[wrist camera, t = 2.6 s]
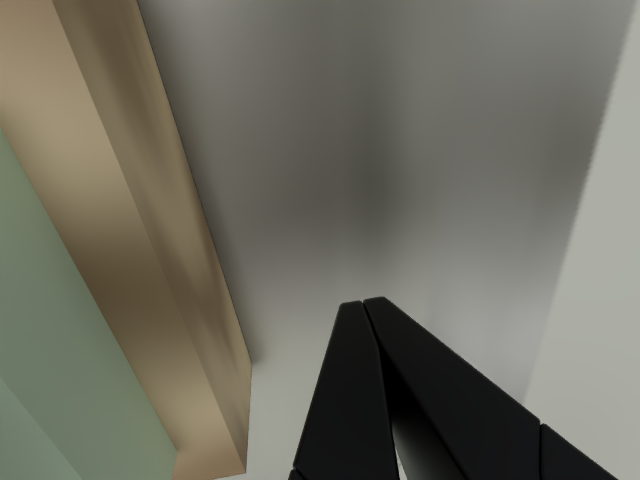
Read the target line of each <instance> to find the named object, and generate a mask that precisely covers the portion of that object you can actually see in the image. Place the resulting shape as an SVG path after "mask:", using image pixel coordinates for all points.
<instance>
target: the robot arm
mask: <svg viewBox="0 0 640 480" xmlns="http://www.w3.org/2000/svg"><path fill="white" fill-rule="evenodd" d="M395 447H396V450H397V452H398V455H399V458H400V461H401V463H402V466H403V469H404V471H405V474H406V476H407V480H618V479H617V478H615V477H614V476H613V475H611V474H610V473H609V472H607V471H606V470H604V469H603V468H602V467H601V466H599V465H598V464H597V463H596V462H594V461H593V460H591V459H590V458H589V457H588V456H586V455H585V454H584V453H582V452H581V451H580V450H578V449H577V448H576V447H574V446H573V445H572V444H570V443H569V442H568V441H567V440H565V439H564V438H563V437H562V436H560V435H559V434H558V433H557V432H555V431H554V430H552V429H551V428H550V427H549V426H548V425H546V424H544V423H543V424H541V425H540V420H539V418H537V417H536V416H535V415H533V414H532V413H531V412H530V411H528V410H527V409H526V408H525V407H523V406H522V405H521V404H520V403H518V402H517V401H516V400H515V399H513V398H512V397H511V396H509V395H508V394H507V393H506V392H504V391H503V390H502V389H501V388H499V387H498V386H497V385H496V384H494V383H493V382H492V381H490V380H489V379H488V378H487V377H485V376H484V375H483V374H482V373H480V372H479V371H478V370H477V369H475V368H474V367H473V366H472V365H470V364H469V363H468V362H466V361H465V360H464V359H463V358H461V357H460V356H459V355H458V354H456V353H455V352H454V351H453V350H451V349H450V348H449V347H448V346H446V345H445V344H444V343H442V342H441V341H440V340H439V339H437V338H436V337H435V336H434V335H432V334H431V333H430V332H429V331H427V330H426V329H425V328H424V327H422V326H421V325H420V324H418V323H417V322H416V321H415V320H413V319H412V318H411V317H410V316H408V315H407V314H406V313H405V312H403V311H402V310H401V309H400V308H398V307H397V306H396V305H394V304H393V303H392V302H391V301H389V300H388V299H387V298H385V297H375V298H369V299H365V300H364V301H363V303H362V302H361V301H359V300H358V301H352V302H346V303H342V304H341V305H340V306H339V310H338V313H337V316H336V320H335V323H334V326H333V330H332V333H331V337H330V340H329V343H328V347H327V350H326V354H325V357H324V360H323V364H322V367H321V371H320V374H319V377H318V381H317V384H316V387H315V391H314V394H313V398H312V401H311V404H310V408H309V411H308V415H307V418H306V421H305V425H304V428H303V432H302V435H301V438H300V442H299V445H298V448H297V452H296V455H295V459H294V462H293V470H291V472H290V475H289V478H288V480H400V478H399V470H398V464H397V457H396V451H395Z"/></svg>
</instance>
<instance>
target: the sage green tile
mask: <svg viewBox="0 0 640 480" xmlns="http://www.w3.org/2000/svg"><path fill="white" fill-rule="evenodd" d="M177 453H178V452H177V450H176V449H175V447H174V445H173V443H172V441H171V439H170V438H169V436H168V434H167V432H166V430H165V428H164V427H163V425H162V423H161V421H160V419H159V417H158V416H157V414H156V412H155V410H154V408H153V406H152V405H151V403H150V401H149V399H148V397H147V395H146V393H145V392H144V390H143V388H142V386H141V384H140V382H139V381H138V379H137V377H136V375H135V373H134V371H133V370H132V368H131V366H130V364H129V362H128V360H127V359H126V357H125V355H124V353H123V351H122V349H121V348H120V346H119V344H118V342H117V340H116V338H115V337H114V335H113V333H112V331H111V329H110V327H109V326H108V324H107V322H106V320H105V318H104V316H103V315H102V313H101V311H100V309H99V307H98V305H97V304H96V302H95V300H94V298H93V296H92V294H91V293H90V291H89V289H88V287H87V285H86V283H85V282H84V280H83V278H82V276H81V274H80V272H79V271H78V269H77V267H76V265H75V263H74V261H73V260H72V258H71V256H70V254H69V252H68V250H67V249H66V247H65V245H64V243H63V241H62V239H61V238H60V236H59V234H58V232H57V230H56V228H55V227H54V225H53V223H52V221H51V219H50V217H49V216H48V214H47V212H46V210H45V208H44V206H43V204H42V203H41V201H40V199H39V197H38V195H37V193H36V192H35V190H34V188H33V186H32V184H31V182H30V181H29V179H28V177H27V175H26V173H25V171H24V170H23V168H22V166H21V164H20V162H19V160H18V159H17V157H16V155H15V153H14V151H13V149H12V148H11V146H10V144H9V142H8V140H7V138H6V137H5V135H4V133H3V131H2V129H1V127H0V480H172V476H173V471H174V466H175V462H176V457H177Z"/></svg>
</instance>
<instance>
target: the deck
mask: <svg viewBox="0 0 640 480" xmlns="http://www.w3.org/2000/svg"><path fill="white" fill-rule="evenodd" d="M0 127H1V129H2V131H3V133H4V135H5V137H6V138H7V140H8V142H9V144H10V146H11V148H12V149H13V151H14V153H15V155H16V157H17V159H18V160H19V162H20V164H21V166H22V168H23V170H24V171H25V173H26V175H27V177H28V179H29V181H30V182H31V184H32V186H33V188H34V190H35V192H36V193H37V195H38V197H39V199H40V201H41V203H42V204H43V206H44V208H45V210H46V212H47V214H48V216H49V217H50V219H51V221H52V223H53V225H54V227H55V228H56V230H57V232H58V234H59V236H60V238H61V239H62V241H63V243H64V245H65V247H66V249H67V250H68V252H69V254H70V256H71V258H72V260H73V261H74V263H75V265H76V267H77V269H78V271H79V272H80V274H81V276H82V278H83V280H84V282H85V283H86V285H87V287H88V289H89V291H90V293H91V294H92V296H93V298H94V300H95V302H96V304H97V305H98V307H99V309H100V311H101V313H102V315H103V316H104V318H105V320H106V322H107V324H108V326H109V327H110V329H111V331H112V333H113V335H114V337H115V338H116V340H117V342H118V344H119V346H120V348H121V349H122V351H123V353H124V355H125V357H126V359H127V360H128V362H129V364H130V366H131V368H132V370H133V371H134V373H135V375H136V377H137V379H138V381H139V382H140V384H141V386H142V388H143V390H144V392H145V393H146V395H147V397H148V399H149V401H150V403H151V405H152V406H153V408H154V410H155V412H156V414H157V416H158V417H159V419H160V421H161V423H162V425H163V427H164V428H165V430H166V432H167V434H168V436H169V438H170V439H171V441H172V443H173V445H174V447H175V449H176V450H177V452H178V453H177V457H176V462H175V466H174V471H173V476H172V480H212V479H217V478H223V477H228V476H233V475H239V474H244V473H246V465H247V448H248V430H249V413H250V396H251V378H252V363H251V360H250V357H249V354H248V351H247V348H246V344H245V341H244V338H243V335H242V332H241V329H240V326H239V322H238V319H237V316H236V313H235V310H234V307H233V303H232V300H231V297H230V294H229V291H228V288H227V285H226V281H225V278H224V275H223V272H222V269H221V266H220V262H219V259H218V256H217V253H216V250H215V247H214V244H213V240H212V237H211V234H210V231H209V228H208V225H207V221H206V218H205V215H204V212H203V209H202V206H201V202H200V199H199V196H198V193H197V190H196V187H195V184H194V180H193V177H192V174H191V171H190V168H189V165H188V161H187V158H186V155H185V152H184V149H183V146H182V143H181V139H180V136H179V133H178V130H177V127H176V124H175V120H174V117H173V114H172V111H171V108H170V105H169V102H168V98H167V95H166V92H165V89H164V86H163V83H162V79H161V76H160V73H159V70H158V67H157V64H156V60H155V57H154V54H153V51H152V48H151V45H150V42H149V38H148V35H147V32H146V29H145V26H144V23H143V19H142V16H141V13H140V10H139V7H138V4H137V1H136V0H0Z"/></svg>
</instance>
